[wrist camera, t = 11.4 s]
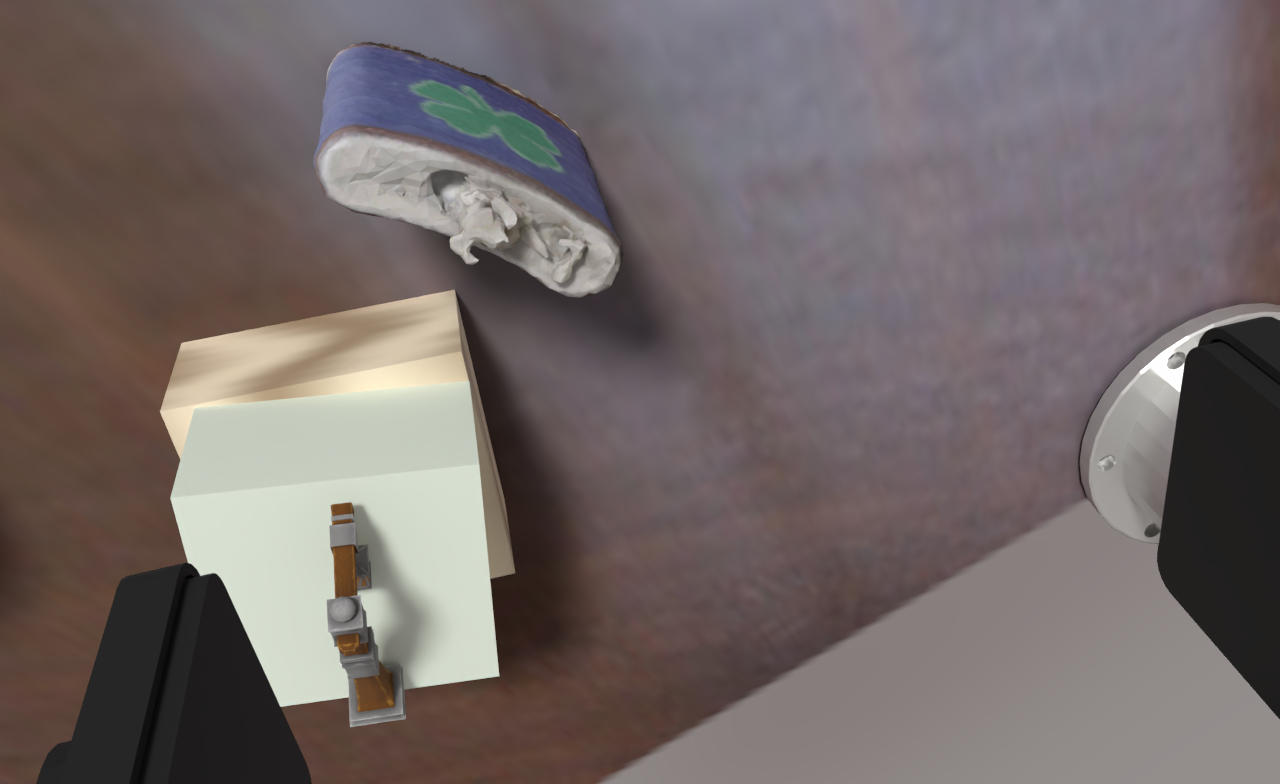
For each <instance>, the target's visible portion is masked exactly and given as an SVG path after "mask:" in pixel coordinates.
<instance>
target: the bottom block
mask: <svg viewBox="0 0 1280 784" xmlns="http://www.w3.org/2000/svg"><path fill="white" fill-rule="evenodd" d="M463 381H469V382H470V391H471V399H472V408H473V416H474V424H475V433H476V441H477V450H478V458H479V467H480V478H481V488H482V499H483V509H484V520H485V530H486V541H487V551H488V562H489V573H490V579H491V578H496V577H500V576H505V575H509V574H514V573H515V568H514V561H513V554H512V547H511V540H510V533H509V526H508V519H507V513H506V506H505V499H504V495H503V491H502V487H501V483H500V478H499V474H498V470H497V466H496V461H495V457H494V453H493V449H492V445H491V440H490V436H489V432H488V428H487V424H486V419H485V415H484V411H483V407H482V402H481V398H480V394H479V390H478V386H477V381H476V377H475V373H474V369H473V364H472V360H471V356H470V352H469V348H468V343H467V339H466V335H465V331H464V327H463V322H462V318H461V314H460V310H459V305H458V301H457V297H456V293H455V290H451V291H446V292H441V293H436V294H431V295H426V296H420V297H415V298H410V299H405V300H400V301H395V302H390V303H385V304H379V305H374V306H369V307H364V308H359V309H354V310H349V311H344V312H338V313H333V314H328V315H323V316H318V317H313V318H308V319H303V320H297V321H292V322H287V323H282V324H277V325H272V326H267V327H262V328H256V329H251V330H246V331H241V332H236V333H231V334H226V335H221V336H215V337H210V338H205V339H200V340H195V341H190V342H185V343H181V347H180V350H179V353H178V356H177V359H176V362H175V366H174V369H173V372H172V375H171V378H170V382H169V385H168V388H167V391H166V394H165V397H164V401H163V404H162V407H161V410H160V413H161V415H162V417H163V420H164V422H165V424H166V427H167V429H168V432H169V434H170V436H171V439H172V441H173V443H174V446H175V448H176V450H177V453H178V455H179V458H180V460H181V457H182V453H183V449H184V445H185V442H186V438H187V434H188V430H189V427H190V423H191V419H192V415H193V412H194V408H198V407H208V406H218V405H228V404H239V403H249V402H259V401H269V400H279V399H290V398H300V397H310V396H320V395H330V394H341V393H351V392H361V391H371V390H381V389H392V388H402V387H412V386H422V385H432V384H443V383H453V382H463Z"/></svg>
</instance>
